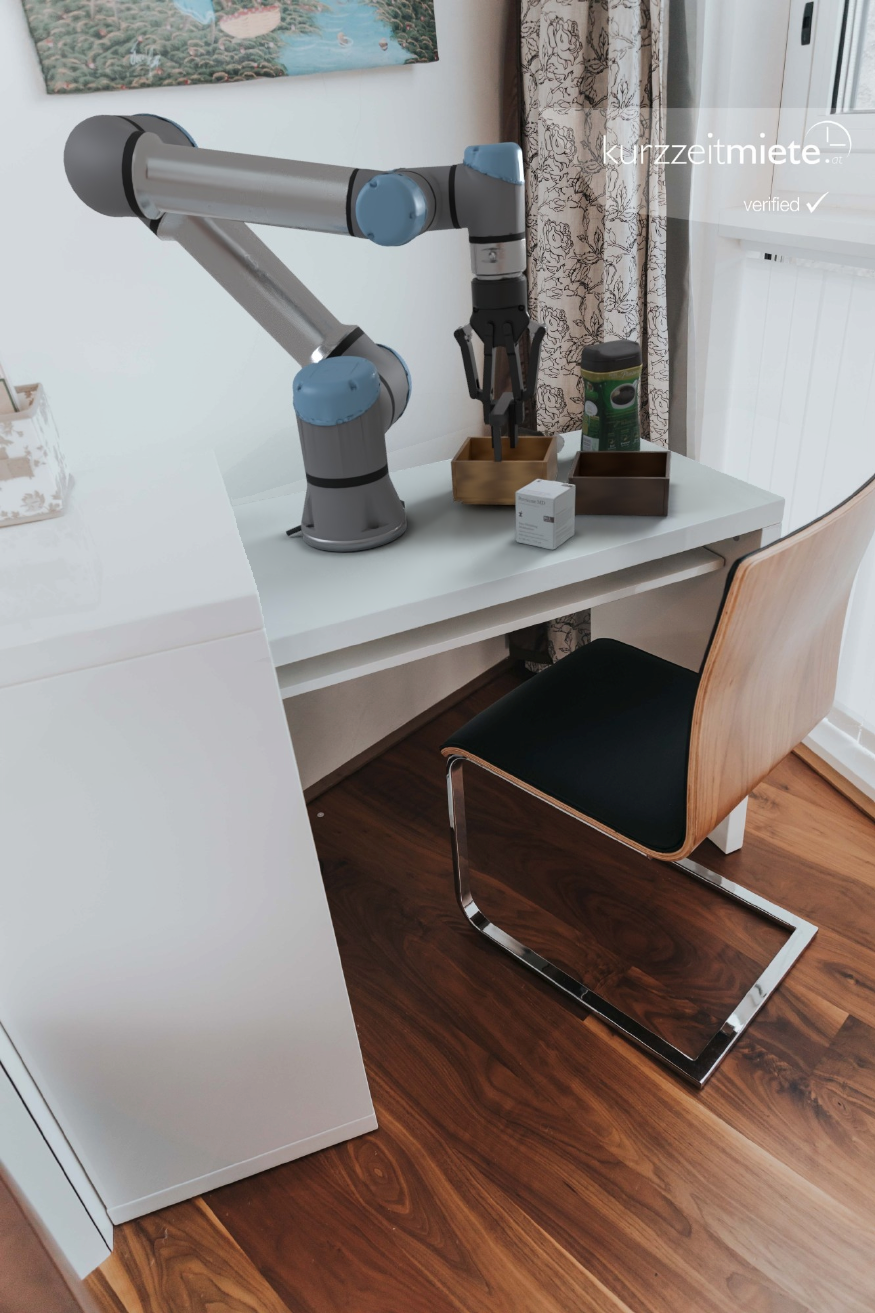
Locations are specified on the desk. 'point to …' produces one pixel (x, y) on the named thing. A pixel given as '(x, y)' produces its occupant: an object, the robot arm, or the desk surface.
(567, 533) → the product carton
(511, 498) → the box
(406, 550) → the desk surface
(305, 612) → the desk surface
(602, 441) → the coffee jar
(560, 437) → the eagle figurine
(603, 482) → the dark brown wooden box
